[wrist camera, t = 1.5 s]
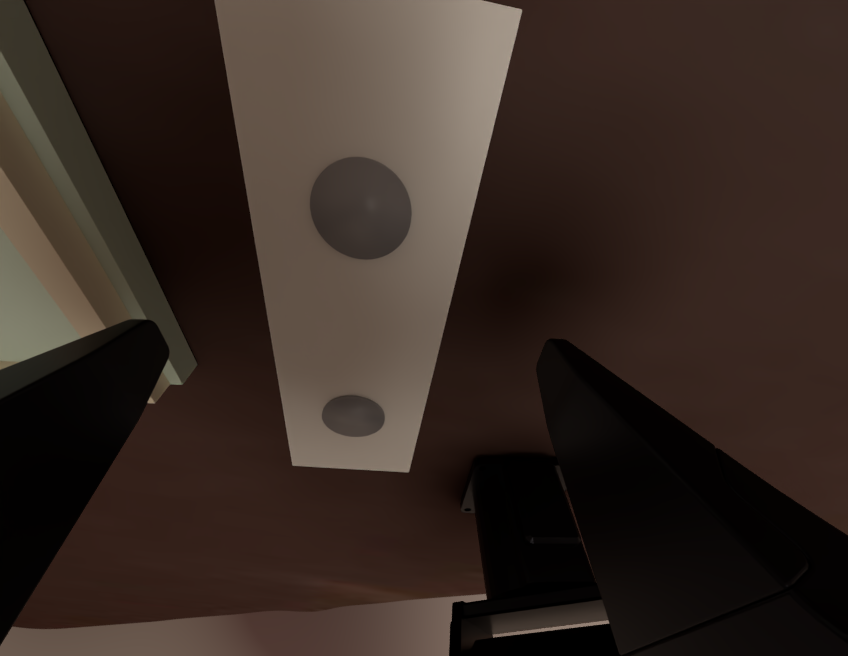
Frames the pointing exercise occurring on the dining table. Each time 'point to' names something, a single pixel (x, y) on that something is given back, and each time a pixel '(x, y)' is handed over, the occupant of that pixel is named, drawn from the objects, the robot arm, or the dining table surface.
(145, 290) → the shallow rectangular tray
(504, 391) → the dining table surface
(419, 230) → the power strip
